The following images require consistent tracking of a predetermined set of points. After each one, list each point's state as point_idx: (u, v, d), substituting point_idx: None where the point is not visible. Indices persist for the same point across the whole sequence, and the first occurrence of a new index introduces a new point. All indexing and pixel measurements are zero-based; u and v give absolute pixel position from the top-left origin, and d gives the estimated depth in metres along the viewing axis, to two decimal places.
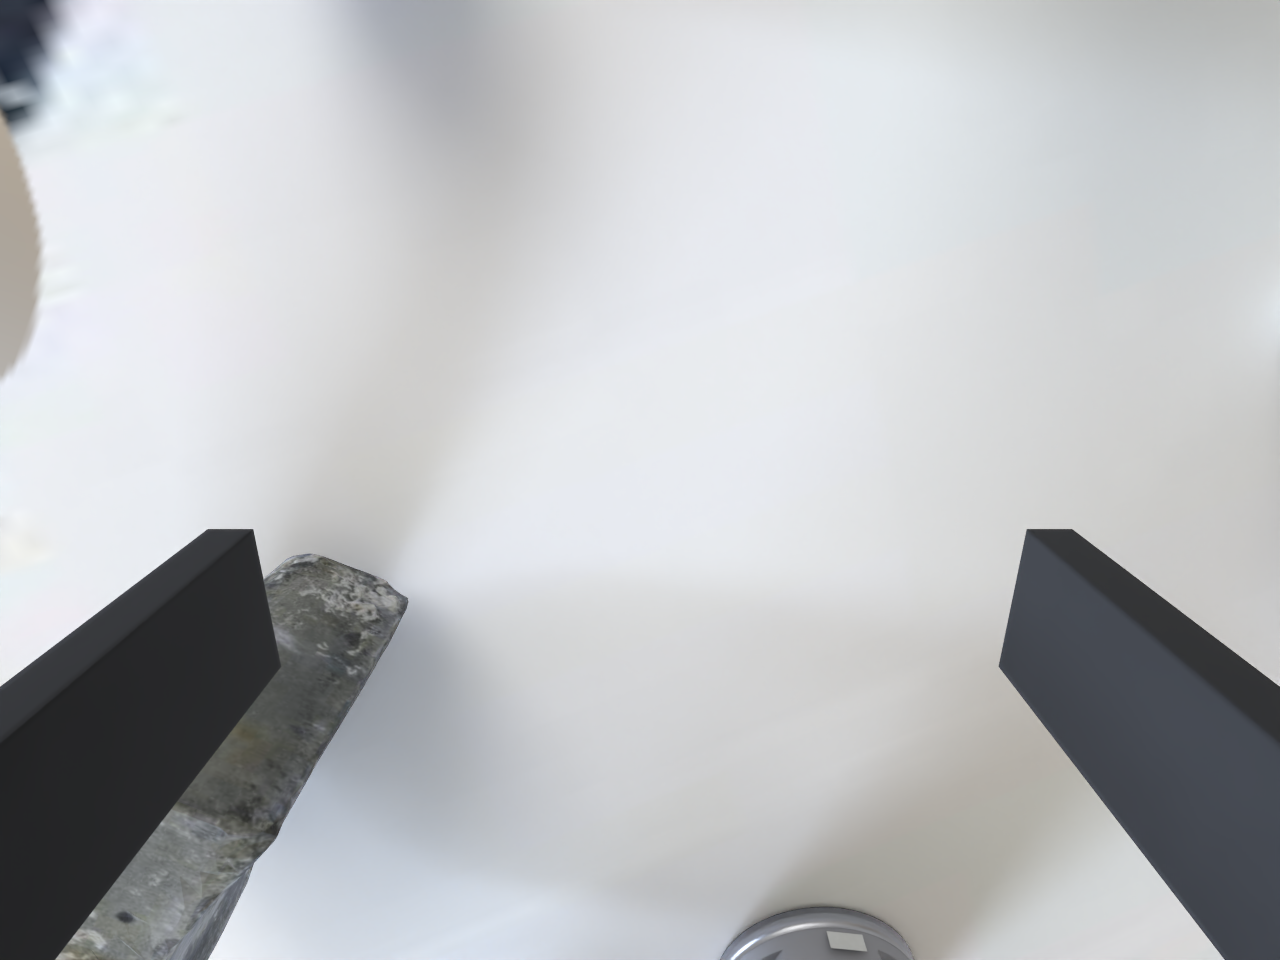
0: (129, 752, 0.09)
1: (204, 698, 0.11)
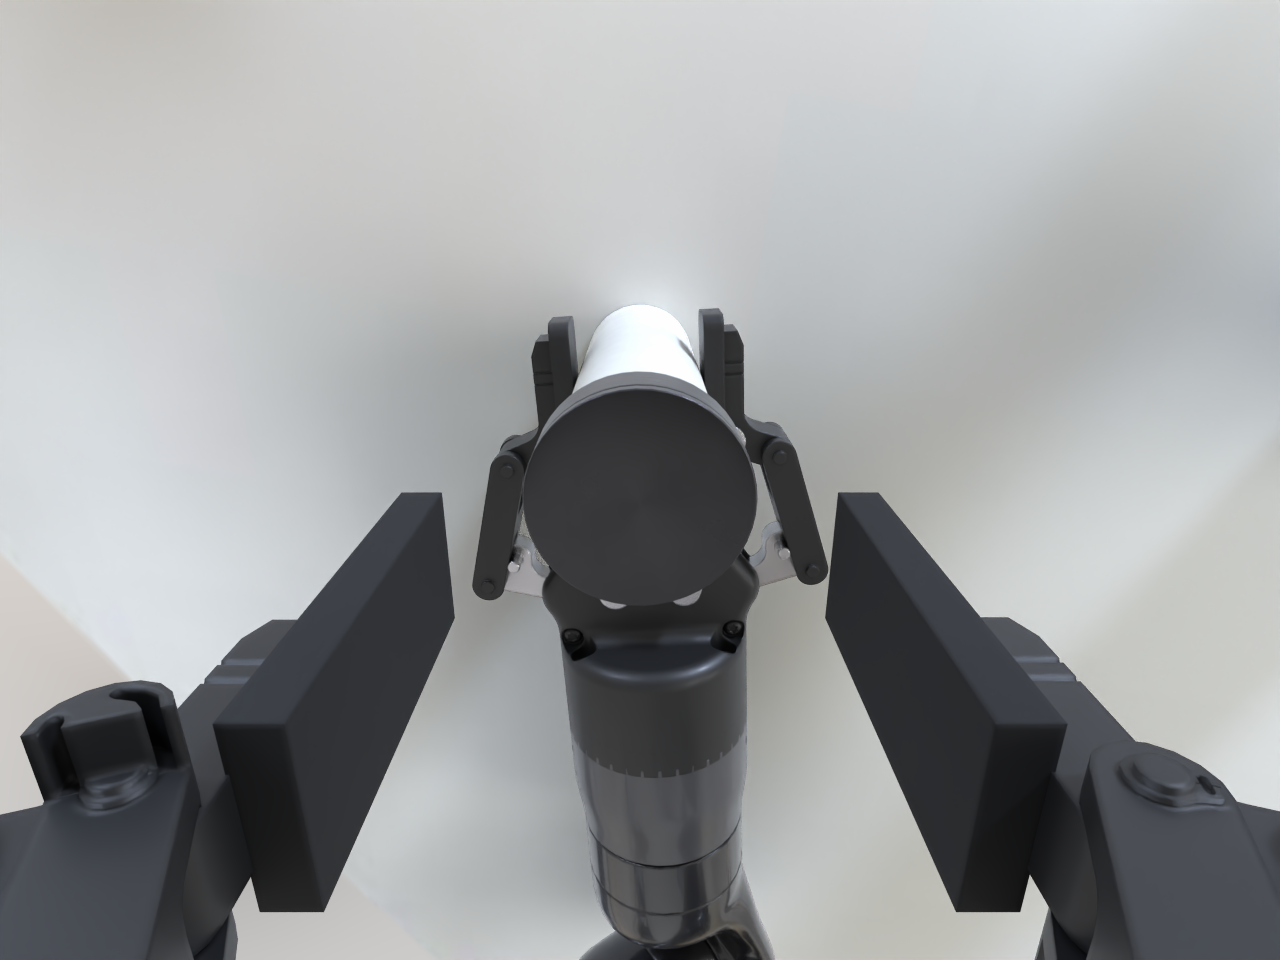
0: (387, 673, 0.11)
1: (420, 636, 0.12)
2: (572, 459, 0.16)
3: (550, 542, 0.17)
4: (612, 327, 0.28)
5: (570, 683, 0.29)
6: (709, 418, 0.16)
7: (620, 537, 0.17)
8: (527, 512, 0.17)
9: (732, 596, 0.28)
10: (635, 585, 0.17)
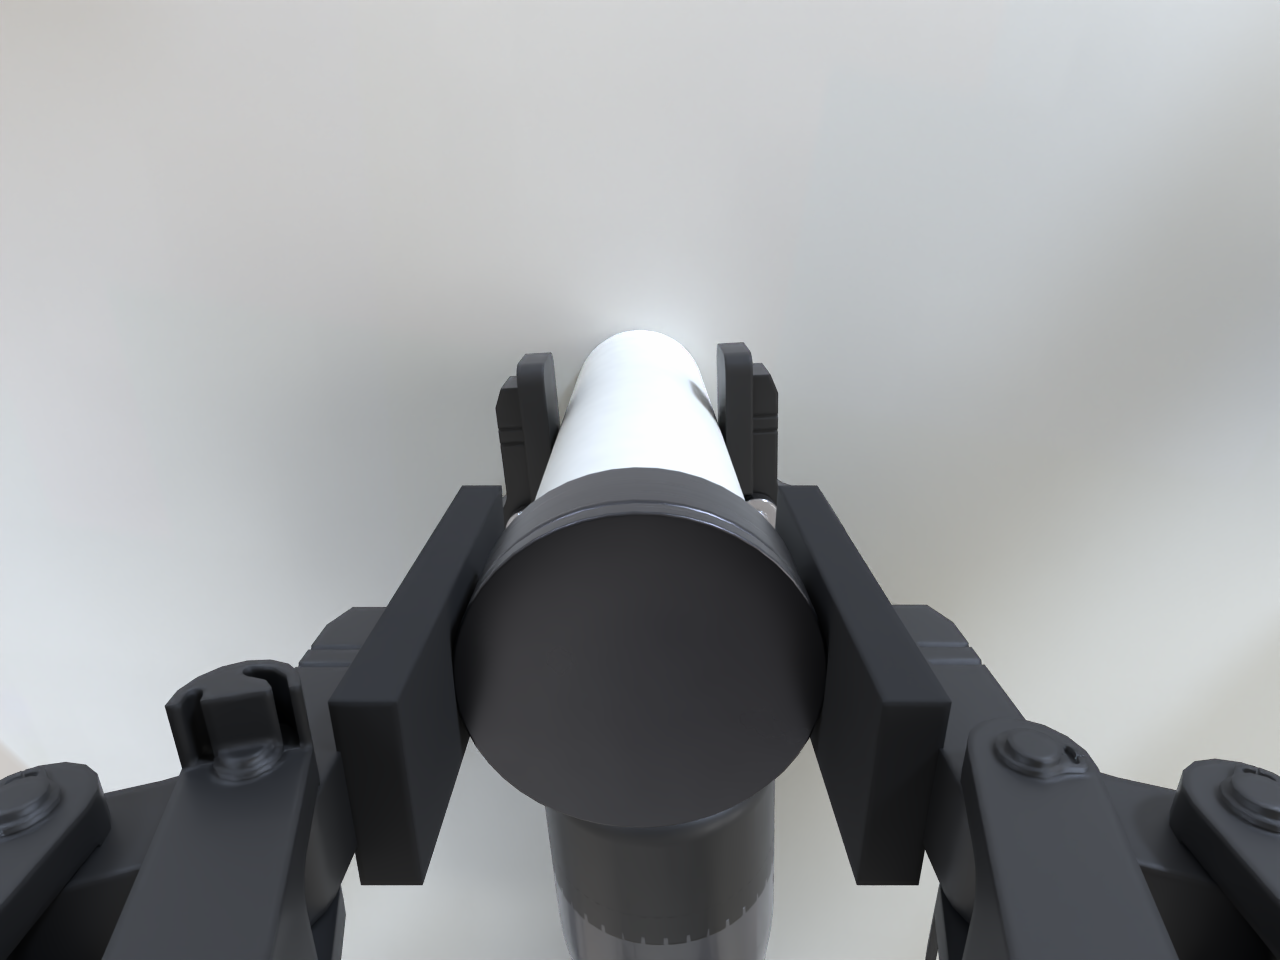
0: None
1: None
2: (530, 620, 0.10)
3: (498, 740, 0.11)
4: (604, 364, 0.21)
5: (551, 817, 0.22)
6: (754, 558, 0.10)
7: (609, 733, 0.11)
8: (460, 697, 0.11)
9: None
10: (633, 800, 0.11)
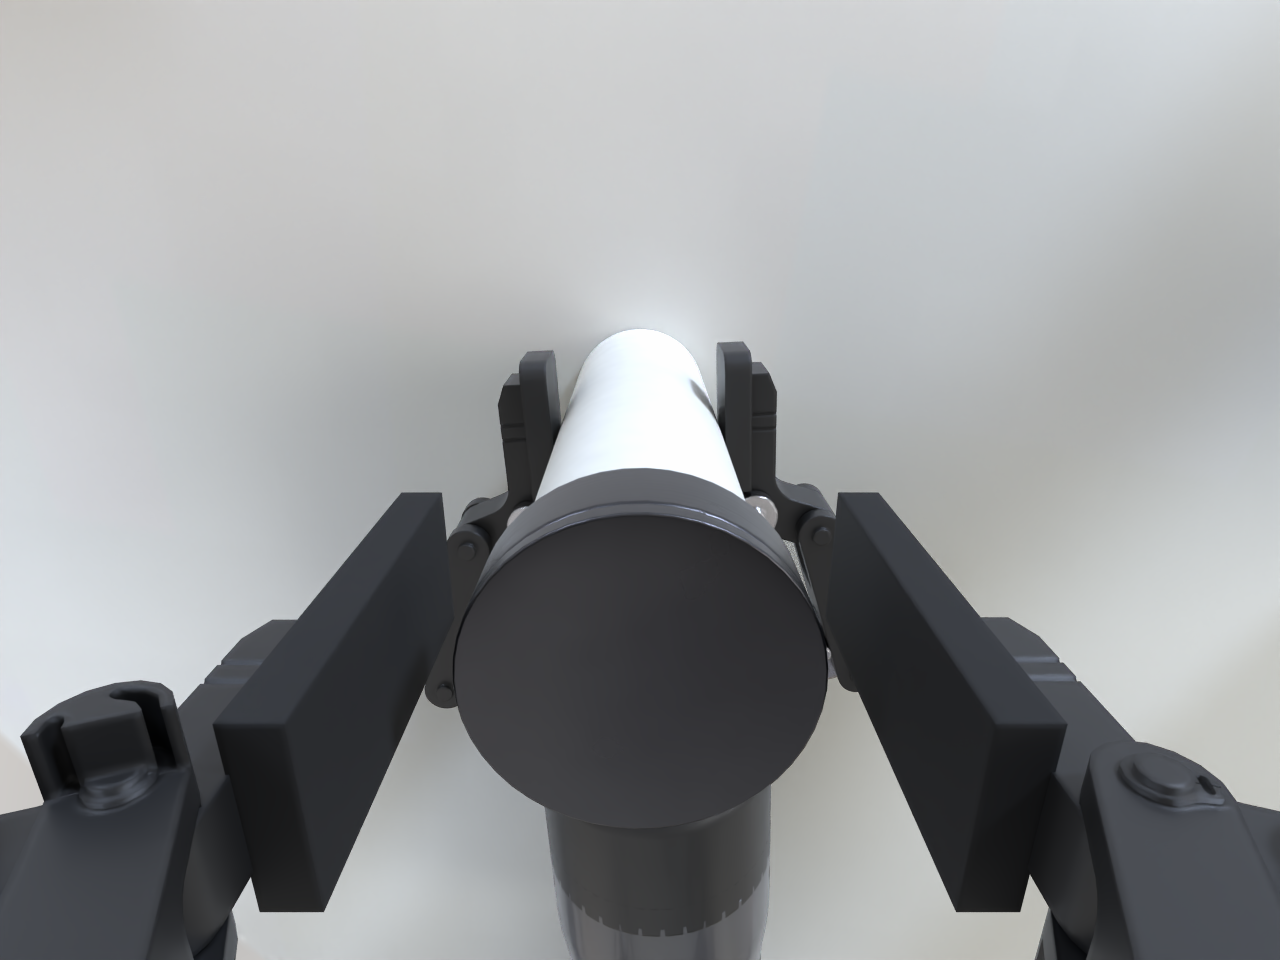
0: (387, 674, 0.11)
1: (420, 636, 0.12)
2: (562, 765, 0.11)
3: (695, 802, 0.11)
4: (605, 362, 0.22)
5: (550, 810, 0.23)
6: (498, 583, 0.10)
7: (696, 714, 0.11)
8: (643, 824, 0.11)
9: None
10: (786, 700, 0.11)
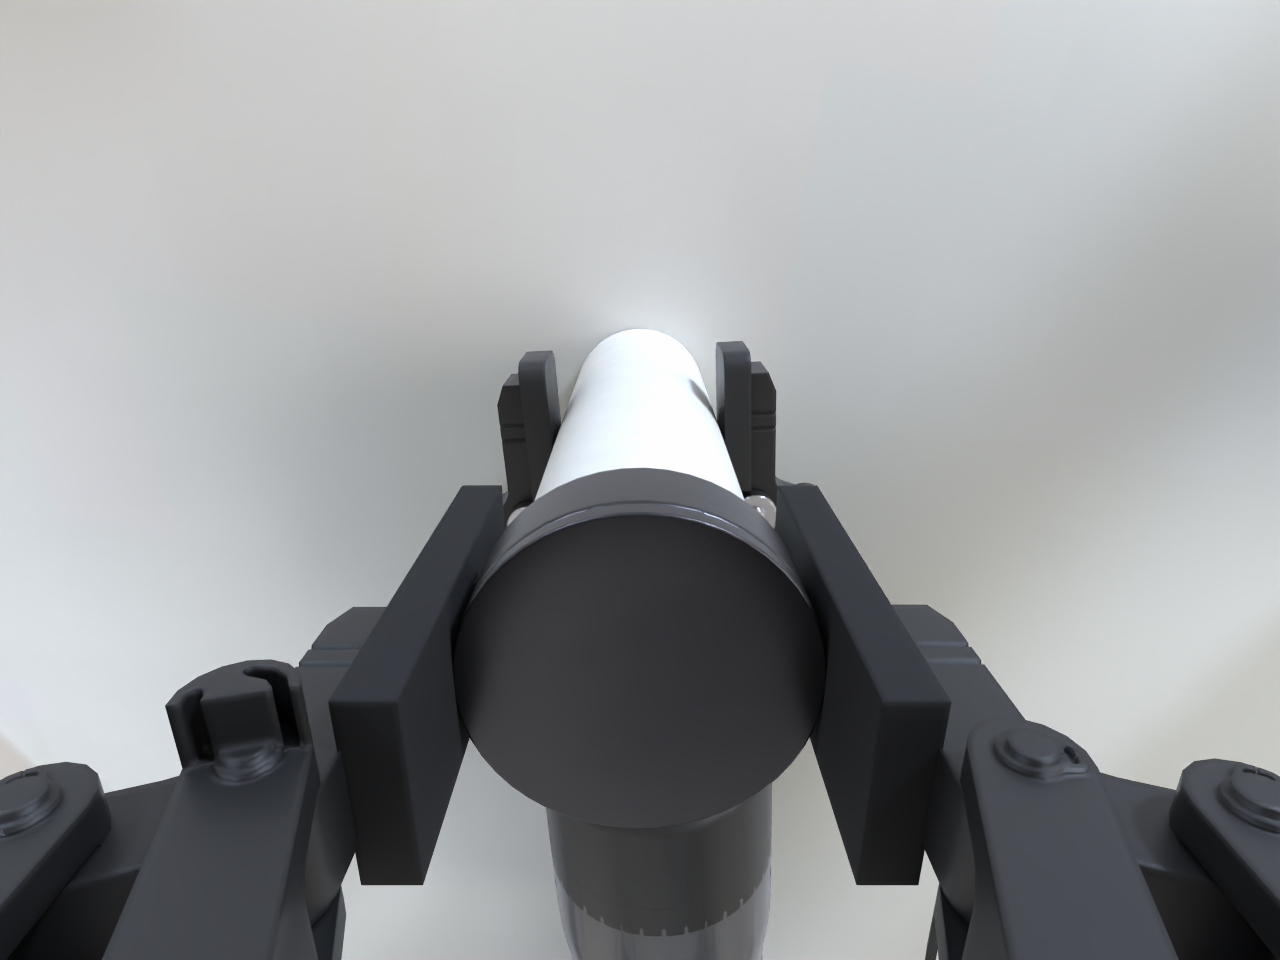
0: None
1: None
2: (562, 765, 0.11)
3: (695, 802, 0.11)
4: (604, 362, 0.22)
5: (551, 810, 0.23)
6: (497, 583, 0.10)
7: (696, 714, 0.11)
8: (643, 824, 0.11)
9: None
10: (785, 699, 0.11)
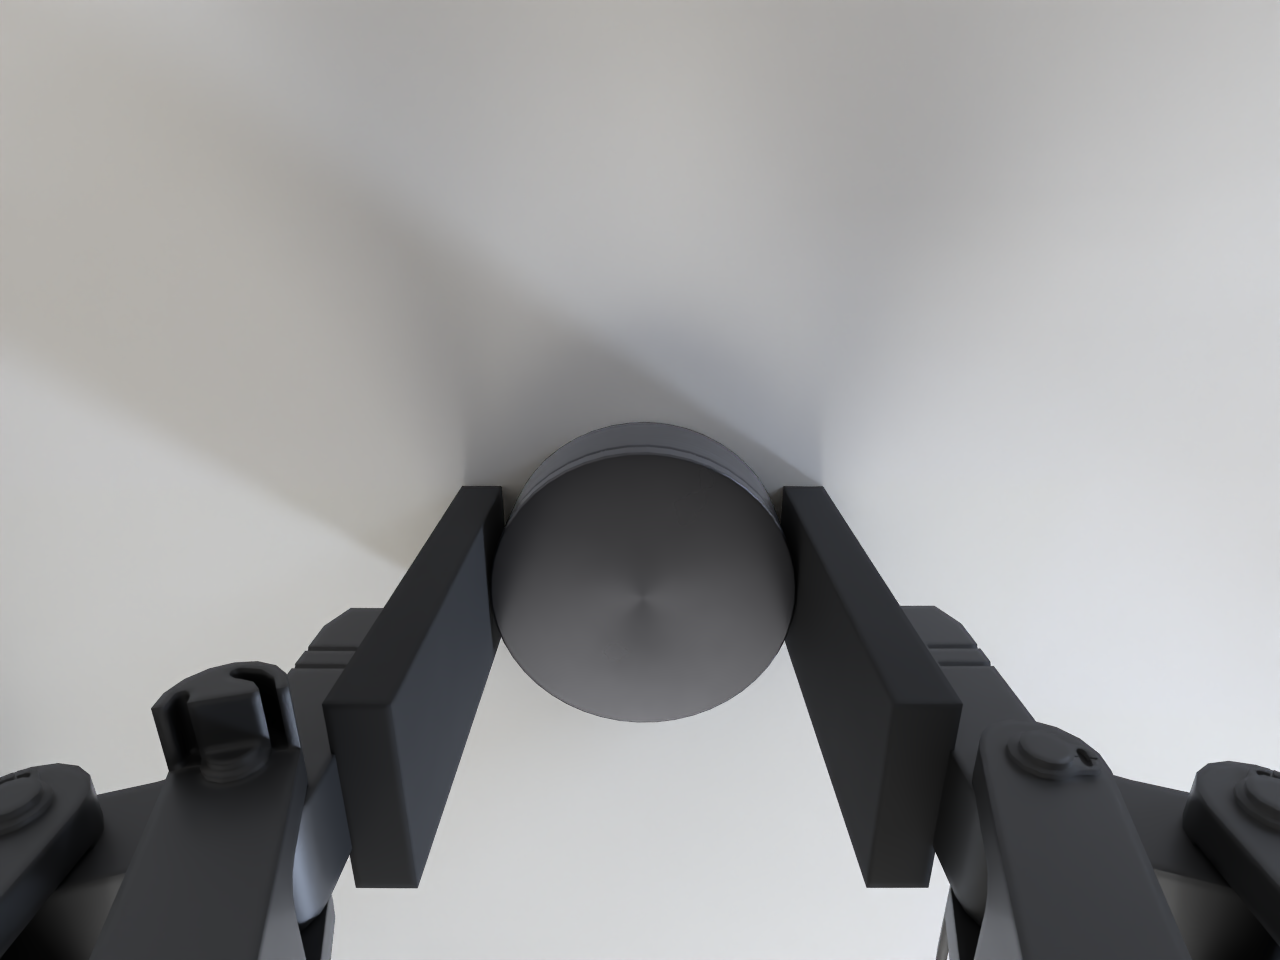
0: (462, 661, 0.11)
1: (486, 626, 0.13)
2: (578, 666, 0.13)
3: (688, 699, 0.14)
4: None
5: None
6: (528, 511, 0.12)
7: (689, 623, 0.13)
8: (645, 719, 0.14)
9: None
10: (762, 611, 0.13)
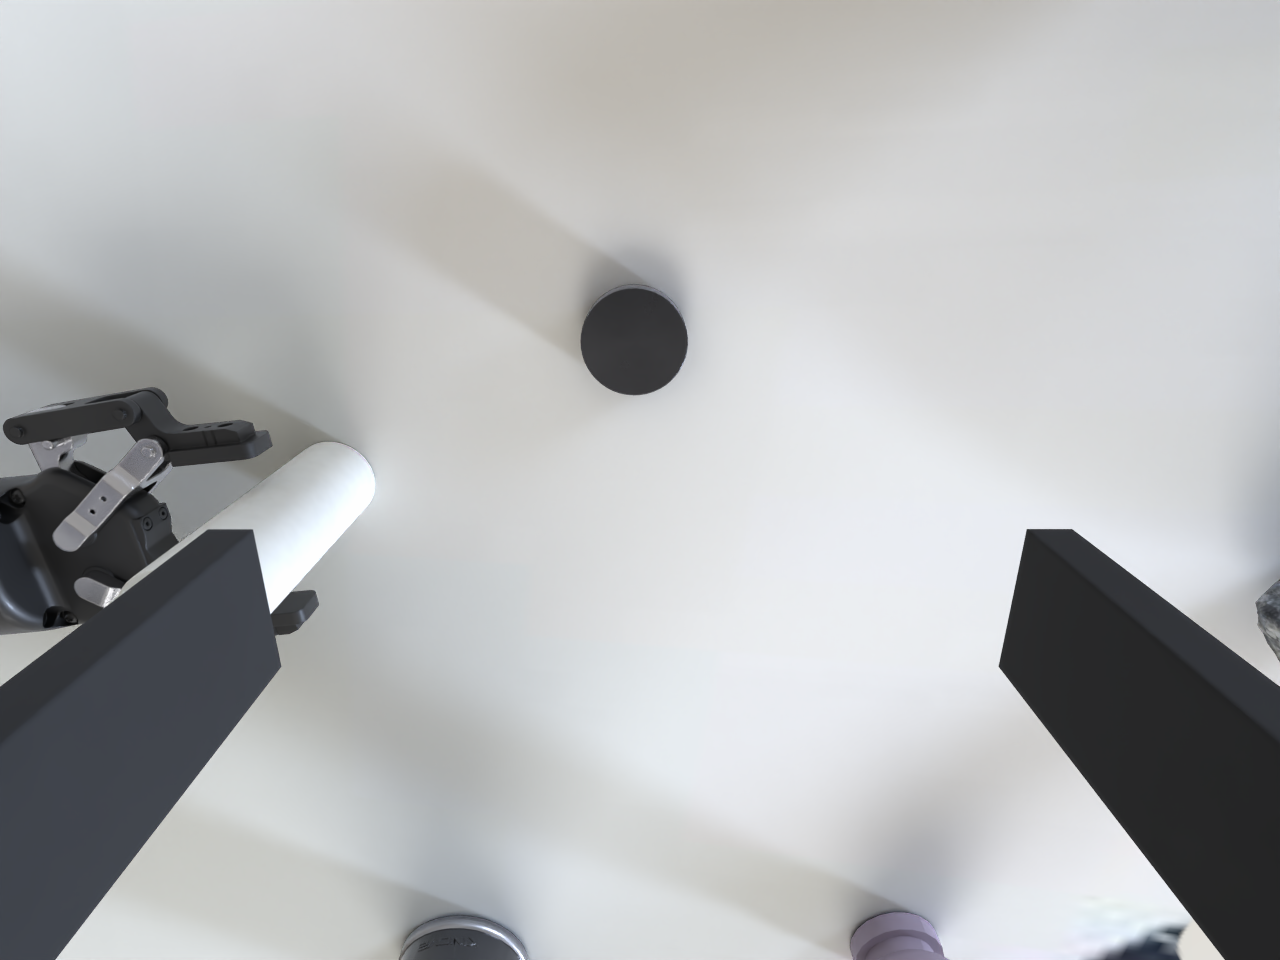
0: (129, 752, 0.09)
1: (204, 698, 0.11)
2: (611, 371, 0.37)
3: (650, 385, 0.37)
4: (334, 491, 0.37)
5: None
6: (595, 309, 0.36)
7: (650, 353, 0.37)
8: (635, 393, 0.38)
9: None
10: (676, 347, 0.37)
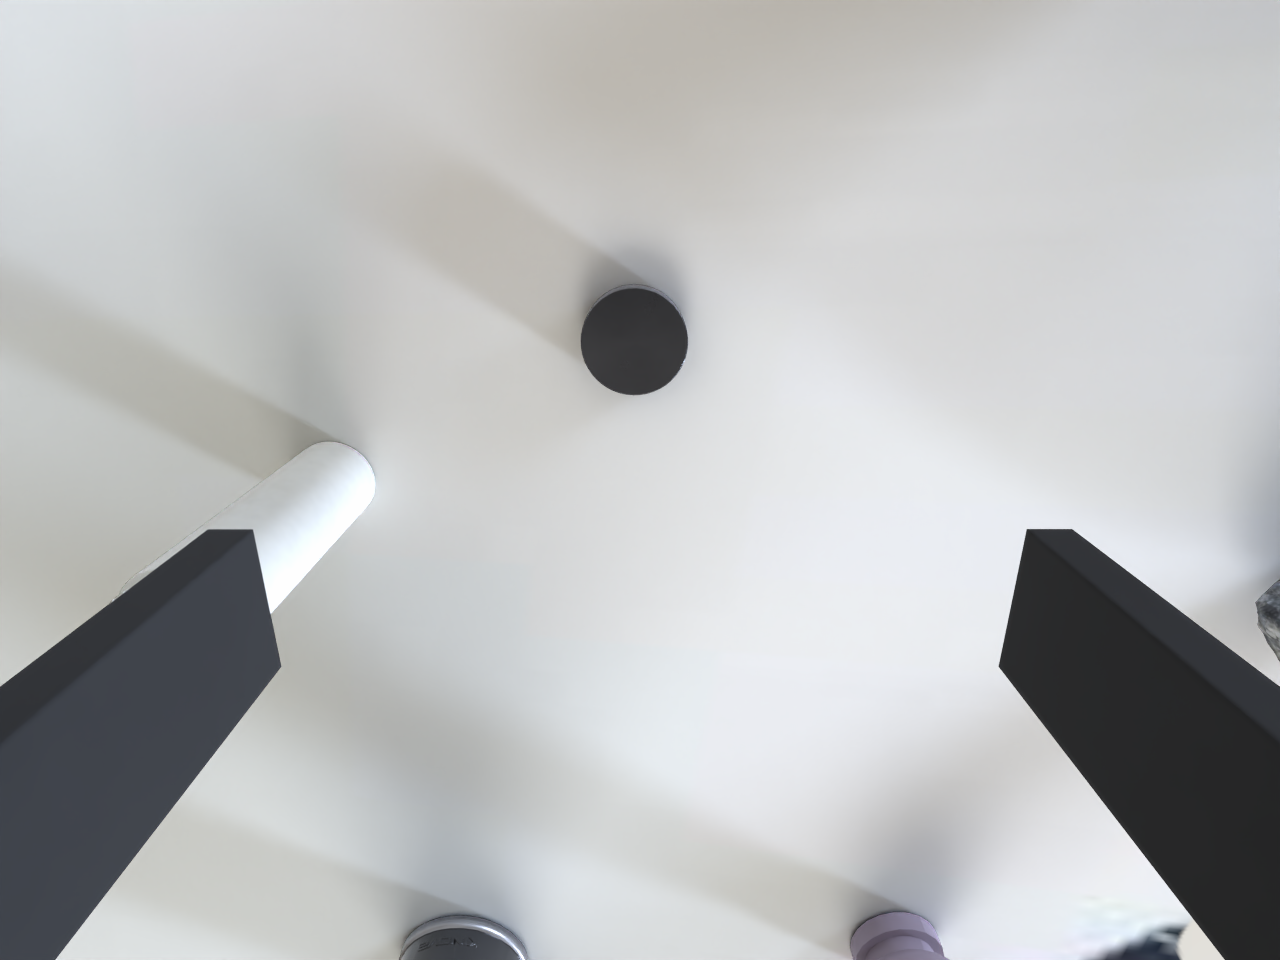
0: (129, 753, 0.09)
1: (204, 698, 0.11)
2: (611, 371, 0.37)
3: (651, 384, 0.37)
4: (335, 491, 0.37)
5: None
6: (595, 309, 0.36)
7: (650, 353, 0.37)
8: (635, 393, 0.38)
9: None
10: (676, 347, 0.37)
